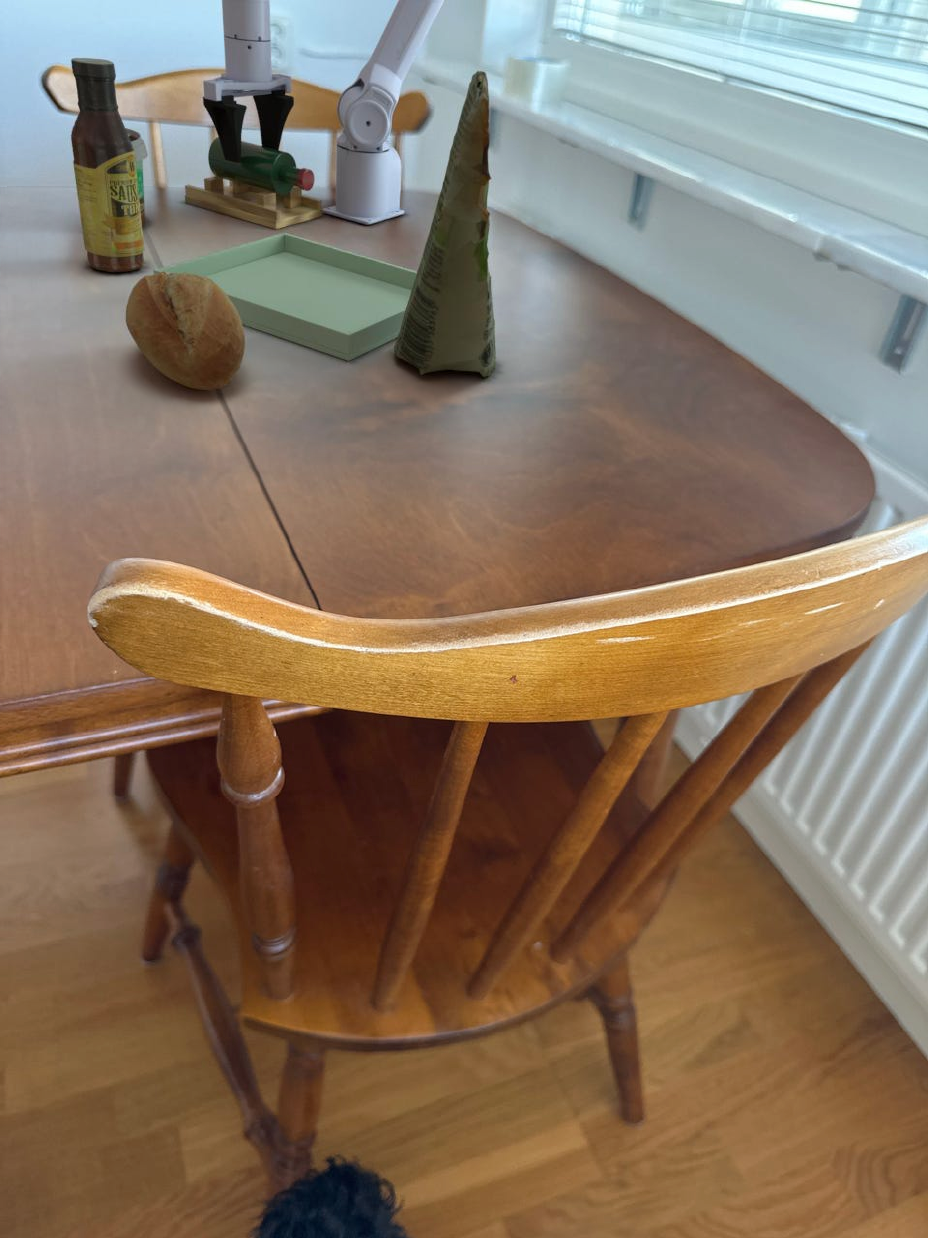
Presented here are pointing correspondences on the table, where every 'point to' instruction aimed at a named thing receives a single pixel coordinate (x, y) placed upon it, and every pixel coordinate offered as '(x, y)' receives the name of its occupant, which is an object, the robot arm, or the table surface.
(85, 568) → the table surface
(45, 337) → the table surface
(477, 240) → the olive green tall cone
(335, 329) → the tray
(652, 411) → the table surface
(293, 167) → the bottle
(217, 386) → the bread roll
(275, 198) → the rack
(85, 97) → the sauce bottle
